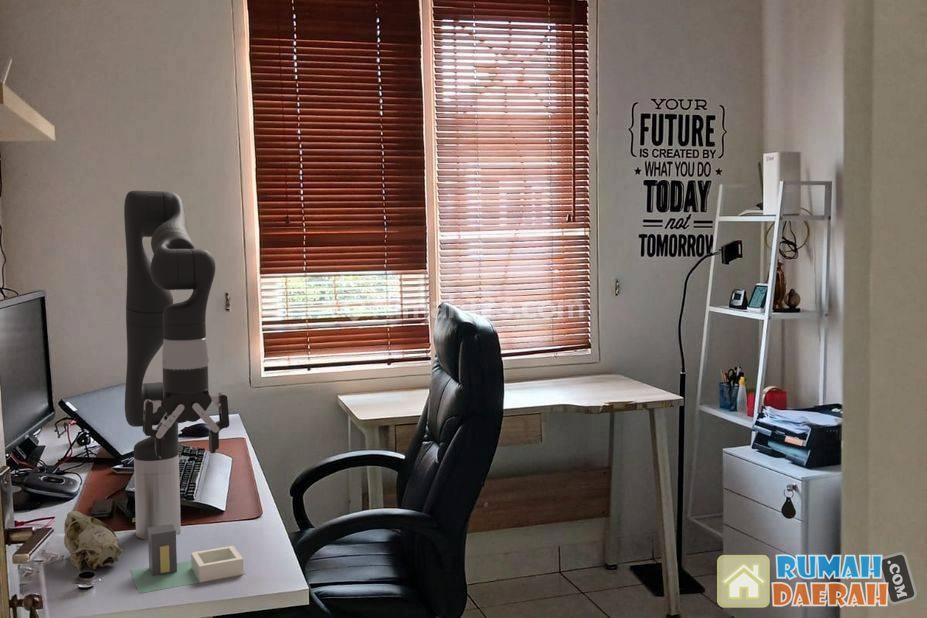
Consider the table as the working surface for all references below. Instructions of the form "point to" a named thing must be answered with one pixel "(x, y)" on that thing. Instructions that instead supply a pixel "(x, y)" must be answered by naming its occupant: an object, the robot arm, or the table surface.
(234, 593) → the table surface
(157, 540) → the plug
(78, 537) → the skull
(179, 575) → the board
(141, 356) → the robot arm
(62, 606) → the table surface
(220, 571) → the frame
